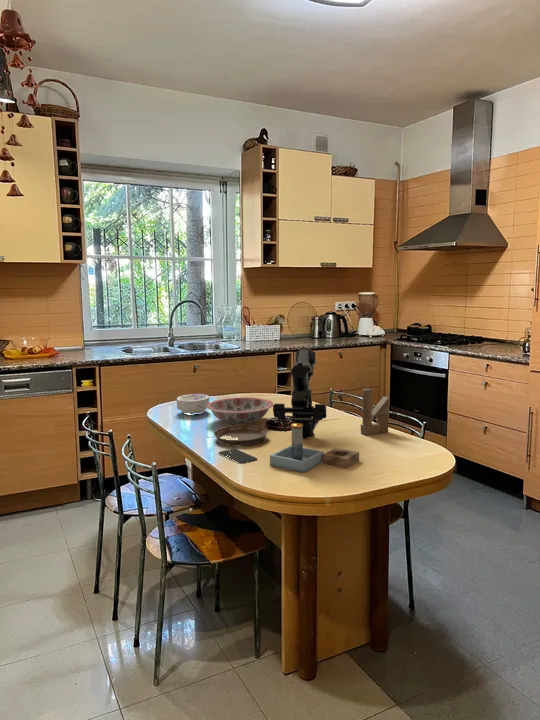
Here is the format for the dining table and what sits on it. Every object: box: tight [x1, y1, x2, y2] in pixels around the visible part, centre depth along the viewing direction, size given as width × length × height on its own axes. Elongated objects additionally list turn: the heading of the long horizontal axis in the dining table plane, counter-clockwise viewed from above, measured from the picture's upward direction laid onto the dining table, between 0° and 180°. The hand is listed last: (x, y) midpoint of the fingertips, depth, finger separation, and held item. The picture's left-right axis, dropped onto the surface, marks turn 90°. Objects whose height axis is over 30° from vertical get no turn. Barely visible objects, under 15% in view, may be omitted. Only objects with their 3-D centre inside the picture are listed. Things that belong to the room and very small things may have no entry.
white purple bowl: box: [176, 393, 210, 414], centre depth 249 cm, size 15×15×8 cm
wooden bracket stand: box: [360, 388, 390, 436], centre depth 210 cm, size 4×11×18 cm, turn 111°
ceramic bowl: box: [206, 396, 274, 425], centre depth 232 cm, size 29×29×8 cm
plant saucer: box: [213, 424, 268, 446], centre depth 205 cm, size 21×21×3 cm
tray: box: [269, 444, 325, 474], centre depth 176 cm, size 13×13×4 cm
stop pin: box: [290, 422, 304, 461], centre depth 175 cm, size 4×4×12 cm
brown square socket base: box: [322, 447, 360, 469], centre depth 177 cm, size 9×9×3 cm
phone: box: [218, 448, 258, 464], centre depth 185 cm, size 7×1×15 cm
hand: (298, 431), depth 183 cm, fingers open, 9 cm apart
